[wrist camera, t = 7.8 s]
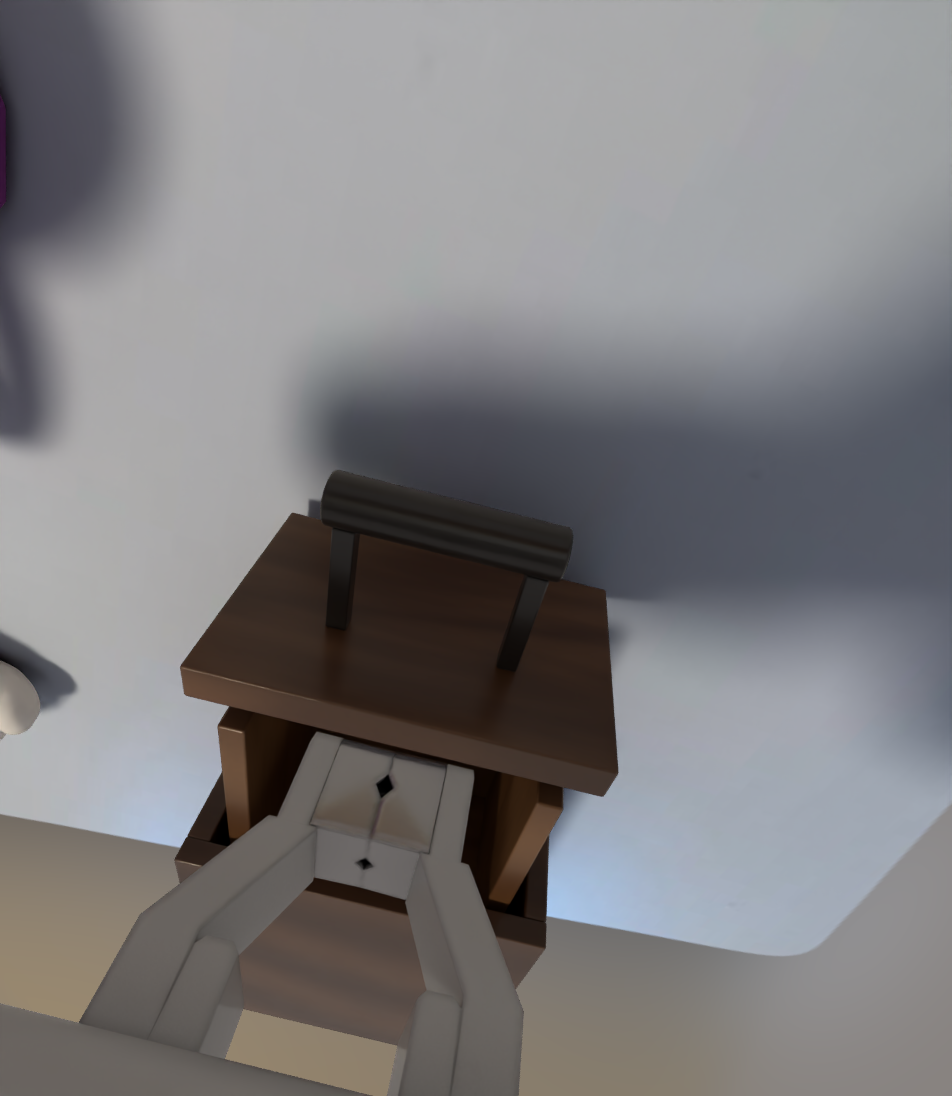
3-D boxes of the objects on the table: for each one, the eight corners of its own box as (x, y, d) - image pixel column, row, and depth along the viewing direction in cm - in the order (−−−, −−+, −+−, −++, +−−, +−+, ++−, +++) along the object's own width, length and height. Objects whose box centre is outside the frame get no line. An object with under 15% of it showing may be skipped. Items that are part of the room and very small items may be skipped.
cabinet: (284, 657, 26) (173, 859, 19) (553, 722, 27) (545, 949, 19) (282, 818, 35) (206, 1000, 28) (486, 867, 35) (463, 1061, 28)
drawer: (293, 378, 18) (152, 504, 12) (660, 470, 18) (703, 640, 12) (288, 737, 28) (214, 895, 23) (514, 792, 29) (499, 963, 23)
